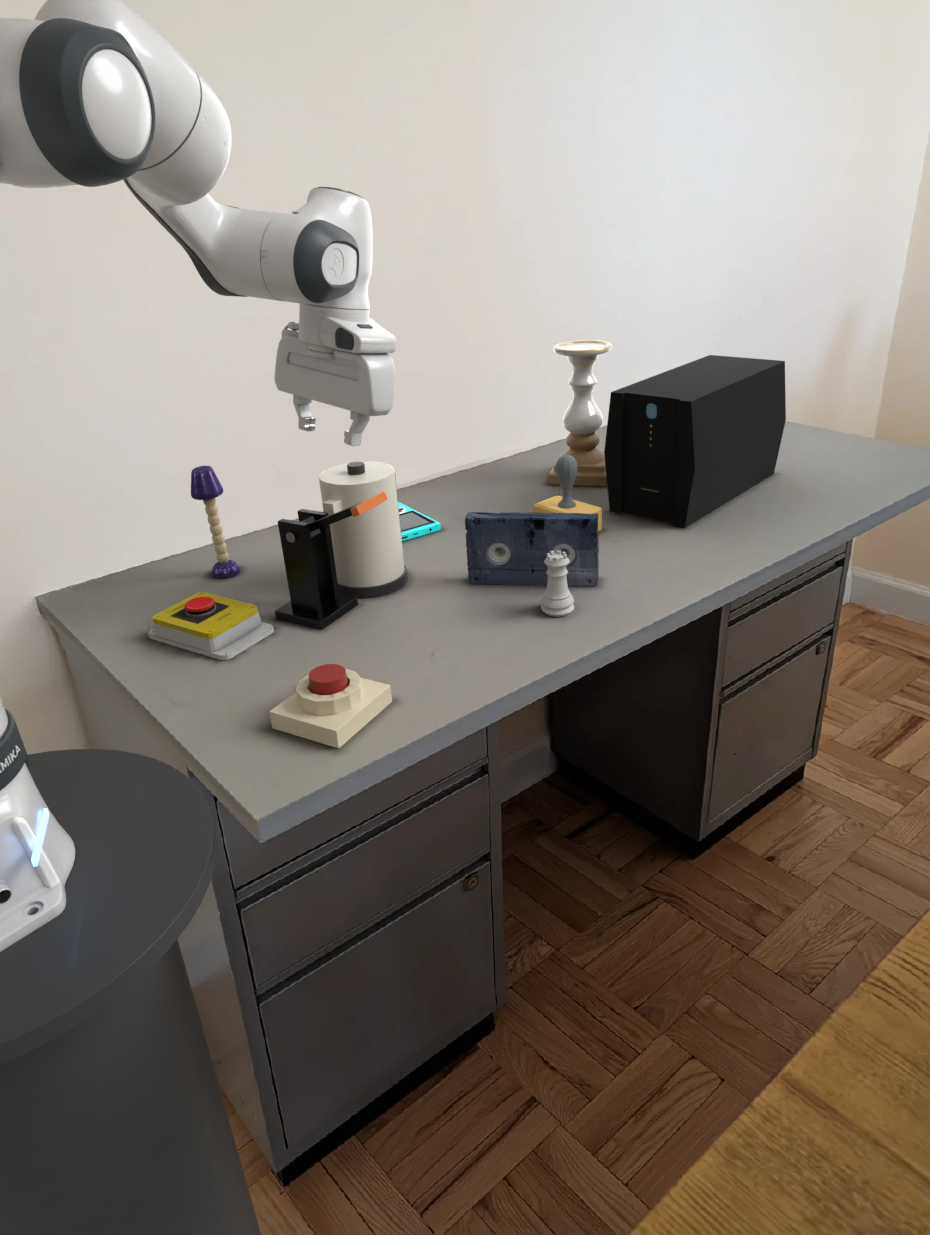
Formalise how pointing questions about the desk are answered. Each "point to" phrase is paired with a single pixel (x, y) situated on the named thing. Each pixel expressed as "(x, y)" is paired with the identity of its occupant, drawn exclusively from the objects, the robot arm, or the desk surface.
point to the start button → (328, 679)
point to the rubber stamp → (567, 493)
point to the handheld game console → (415, 523)
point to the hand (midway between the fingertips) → (329, 437)
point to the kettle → (365, 529)
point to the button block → (331, 710)
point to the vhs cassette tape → (530, 547)
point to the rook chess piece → (557, 586)
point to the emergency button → (210, 626)
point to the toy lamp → (213, 517)
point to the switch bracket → (311, 574)
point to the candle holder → (583, 413)
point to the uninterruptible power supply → (694, 437)
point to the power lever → (344, 513)
